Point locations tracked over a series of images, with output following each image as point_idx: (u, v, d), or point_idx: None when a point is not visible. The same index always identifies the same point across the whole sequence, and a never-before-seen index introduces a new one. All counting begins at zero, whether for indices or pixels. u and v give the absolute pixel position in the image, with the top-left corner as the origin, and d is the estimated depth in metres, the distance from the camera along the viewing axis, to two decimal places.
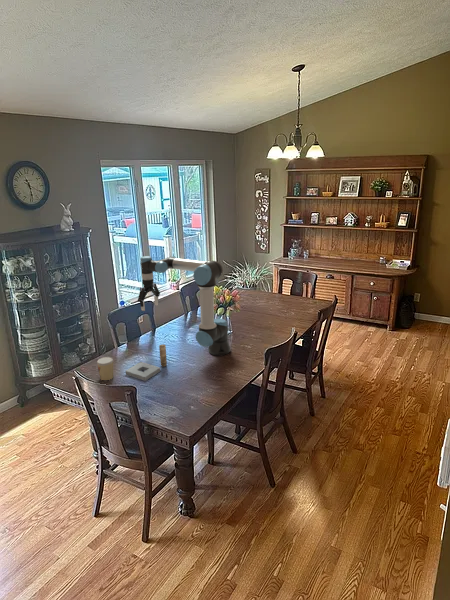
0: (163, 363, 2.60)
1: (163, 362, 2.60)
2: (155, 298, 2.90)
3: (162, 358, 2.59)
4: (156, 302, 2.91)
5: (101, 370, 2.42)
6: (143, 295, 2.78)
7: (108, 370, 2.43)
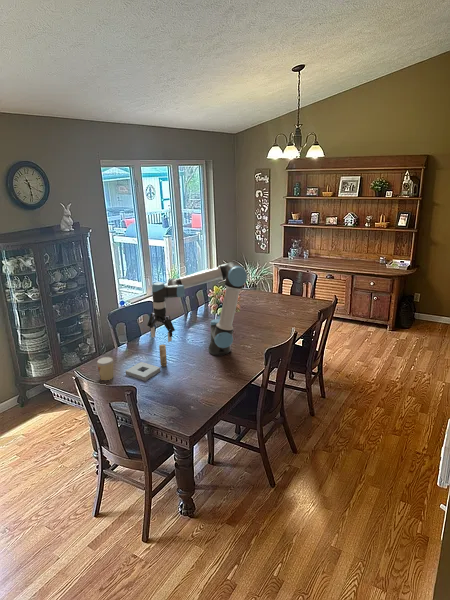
0: (163, 363, 2.60)
1: (163, 362, 2.60)
2: None
3: (162, 358, 2.59)
4: None
5: (101, 370, 2.42)
6: None
7: (108, 370, 2.43)
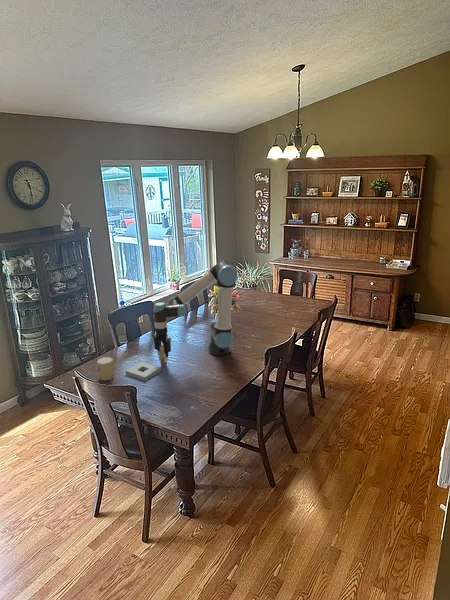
0: (163, 363, 2.60)
1: (163, 362, 2.60)
2: None
3: (162, 358, 2.59)
4: None
5: (101, 370, 2.42)
6: None
7: (108, 370, 2.43)
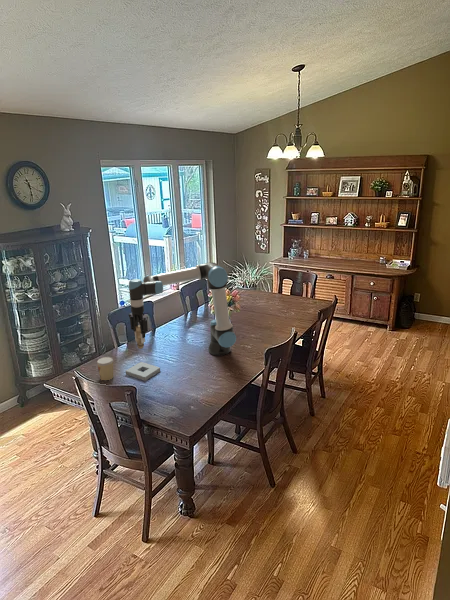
0: (140, 345, 2.46)
1: (140, 344, 2.46)
2: None
3: (139, 340, 2.45)
4: None
5: (101, 370, 2.42)
6: None
7: (108, 370, 2.43)
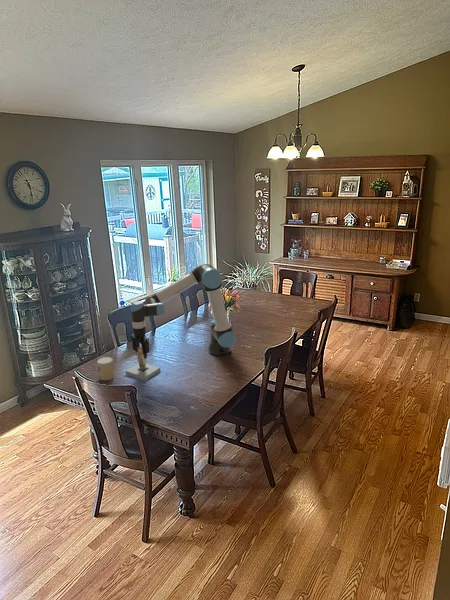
0: (142, 365, 2.50)
1: (142, 364, 2.50)
2: None
3: (140, 360, 2.49)
4: None
5: (101, 370, 2.42)
6: None
7: (108, 370, 2.43)
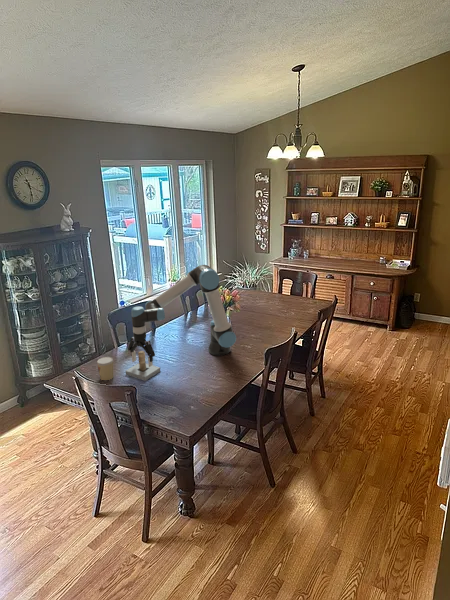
0: (142, 370, 2.51)
1: (142, 369, 2.51)
2: None
3: (141, 365, 2.50)
4: None
5: (101, 370, 2.42)
6: (134, 346, 2.51)
7: (108, 370, 2.43)
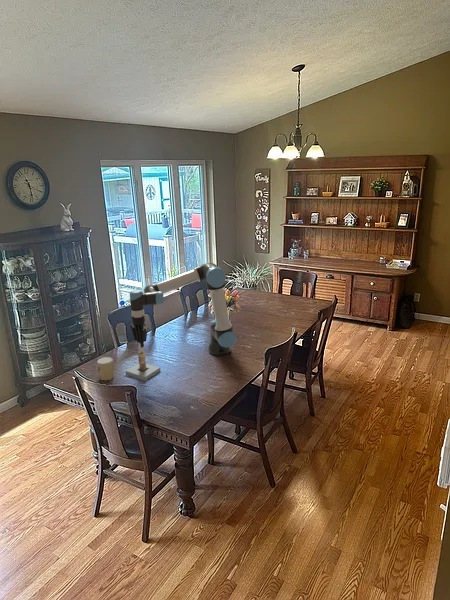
0: (142, 370, 2.51)
1: (142, 369, 2.51)
2: None
3: (141, 365, 2.50)
4: None
5: (101, 370, 2.42)
6: None
7: (108, 370, 2.43)
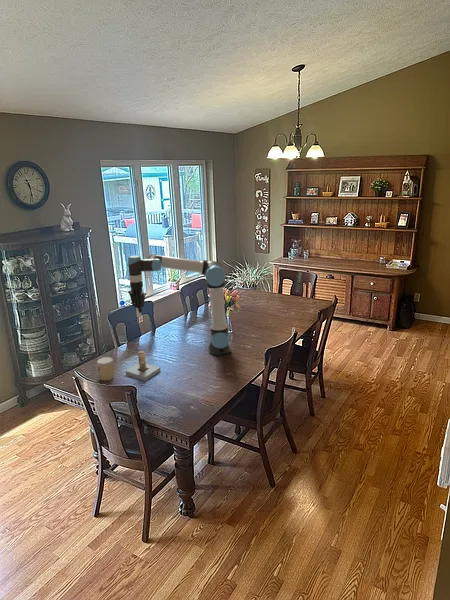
0: (142, 370, 2.51)
1: (142, 369, 2.51)
2: None
3: (141, 365, 2.50)
4: None
5: (101, 370, 2.42)
6: None
7: (108, 370, 2.43)
